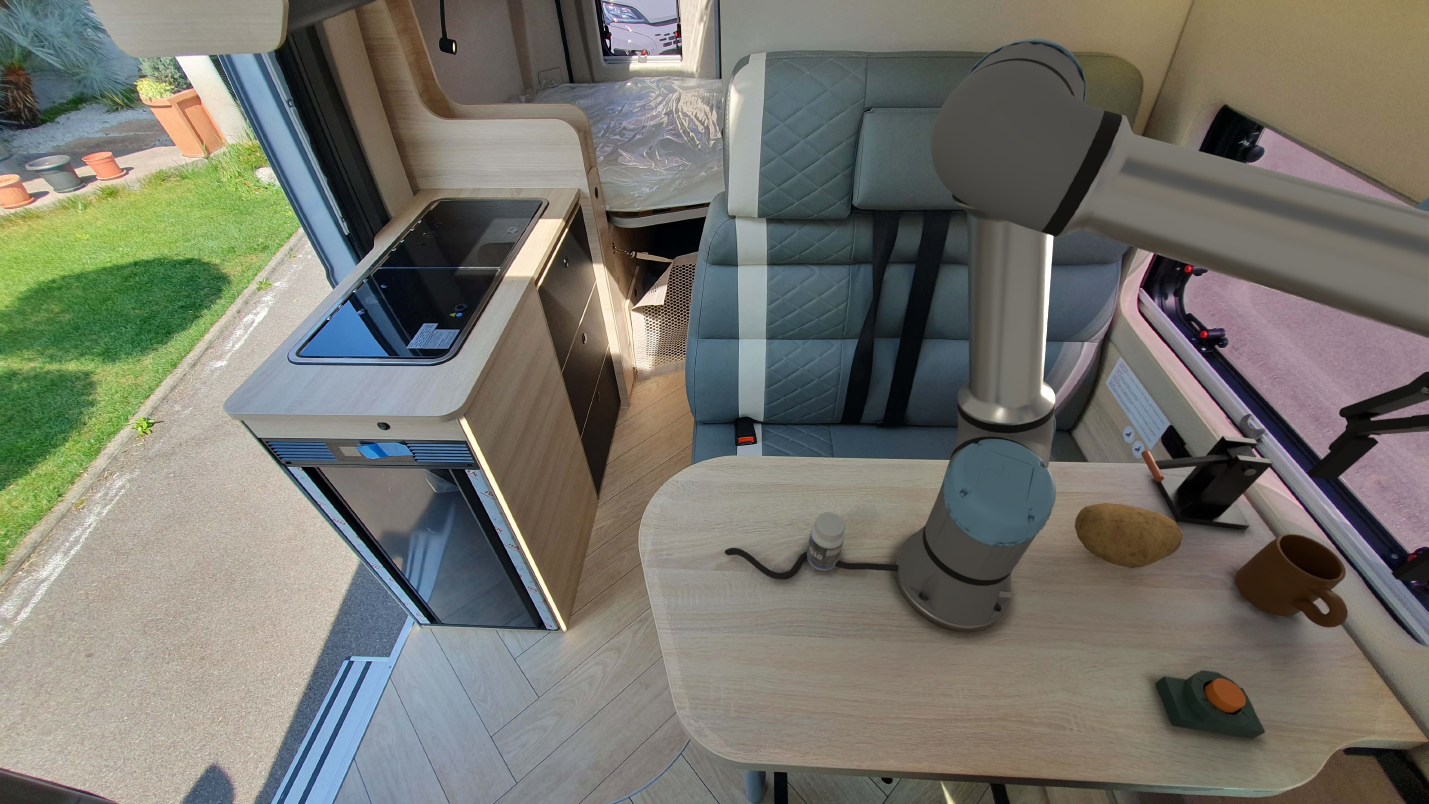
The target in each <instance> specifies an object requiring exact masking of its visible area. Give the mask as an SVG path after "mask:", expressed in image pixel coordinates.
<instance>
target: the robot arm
mask: <svg viewBox="0 0 1429 804" xmlns="http://www.w3.org/2000/svg"><path fill="white" fill-rule="evenodd" d="M1086 99H1087V80H1086V78H1085V71H1084V70H1083V68H1082V65H1081V64H1080V62H1079V60H1078V59H1077V58H1076V57H1075V55H1074V54H1073V53H1072V52H1071V51H1070V50H1069V49H1067V48H1066V47H1064V46H1063V45H1062V44H1059V43H1058V42H1055V41H1052V40H1049V39H1043V38H1025V39H1020V40H1015V41H1013V42H1010V43H1007V44H1005V45H1002V46H999V47H997V48H995V49H994V50H992V51H991V52H988V53H987V54H986V55H984V56H983V57H982V58H980V59H979V61H977V62H975V64H974V65H972V67H971V68H970V69H969V71H968V72H967V74H966V75H965V77H964V79H962V81H961V82H960V83H959V84H958V85H957V86H956V88H954V89H953V91H951V93H950V94H949V95H948V97H946V100H945V101H944V102H943V104H942V106H941V108H940V110H939V111H938V114H937V116H936V118H935V121H934V124H933V128H932V133H931V137H930V138H931V139H930V141H931V142H930V143H931V144H930V145H931V146H930V153H931V158H932V164H933V167H934V170H935V173H936V175H937V176H938V178H939V180H940V181H941V183H942V184H943V186H944V187H945V188H946V189H947V190H948V191H949V192H950V193H951V199H952V201H953V203H954V204H956V205H957V206H959V208H960V209H962V210H964V211H965V212H966V217H967V218H966V219H967V220H966V221H967V222H966V223H967V226H966V228H967V229H966V230H967V306H968V307H967V309H968V311H967V313H968V318H967V320H968V322H967V323H968V380H967V381H966V382H964V383H963V384H962V385H961V387H960V388H959V390H958V392H957V394H956V395H957V397H956V400H957V406H956V407H957V409H956V411H957V412H956V413H957V432H956V439H955V443H954V446H953V449H952V452H951V454H950V458H949V461H948V464H947V467H946V470H945V473H944V477H943V479H942V483H941V486H940V489H939V491H938V493H937V496H936V499H935V501H934V504H933V506H932V508H931V510H930V513H929V515H928V517H927V521H926V522H925V525H924V526H922V527H921V528H920V529H919V530H918V531H916V532H914V533H913V534H911V535H910V536H909V537H907V538H906V540H905V541H904V542H903V543H902V545H901V546H900V548H899V550H898V553H897V556H896V558H895V562H894V564H892V563H891V564H890V563H878V562H877V563H876V562H846V561H841V560H838V561H837V563H836V564H835V567H836V568H839V569H843V570H851V571H852V570H853V571H858V570H860V571H862V570H866V571H867V570H868V571H871V570H872V571H884V572H894V576H895V577H894V578H895V582H896V585H897V587H898V590H899V592H900V593H901V595H902V597H903V598H904V599H905V601H906V602H907V603H908V604H909V606H910V607H911V608H912V609H913V610H914V611H915V612H917V614H918V615H920V616H922V617H923V618H924V619H926V620H927V621H929V622H931V623H932V624H934V625H936V626H938V627H941V628H944V629H946V630H949V631H953V632H954V631H955V632H962V633H974V632H979V631H982V630H985V629H988V628H990V627H992V626H993V625H994V624H995V623H997V621H999V620H1000V618H1001V617H1002V616H1003V614H1004V613H1005V611H1006V610H1007V607H1008V605H1009V603H1010V599H1014V597H1015V596H1016V595H1017V592H1015V591H1012V572H1013V571H1014V569H1015V567H1016V566H1017V564H1018V563H1019V562H1020V560H1021V559H1022V558H1023V556H1024V554H1025V553H1026V552H1027V550H1028V549H1029V547H1030V545H1031V544H1032V543H1033V541H1034V539H1035V538H1036V536H1037V535H1038V534H1039V533H1040V531H1042V530H1043V529H1044V527H1045V526H1046V524H1047V522H1048V521H1049V520H1050V516H1052V515H1051V514H1052V512H1053V508H1054V505H1055V503H1056V499H1057V488H1056V487H1057V486H1056V482H1055V479H1054V476H1053V474H1052V472H1051V470H1050V469H1049V465H1050V457H1051V453H1052V452H1051V450H1052V444H1053V441H1054V439H1055V438H1054V437H1055V434H1056V429H1057V423H1056V418H1055V408H1056V394H1055V392H1054V390H1053V388H1052V387H1051V386H1050V385H1049V384H1048V383H1047V382H1045V381H1044V374H1045V373H1044V372H1045V359H1046V345H1047V331H1048V320H1049V319H1048V318H1049V305H1050V304H1049V303H1050V291H1051V289H1050V288H1051V276H1052V262H1053V249H1054V237H1056V238H1059V239H1062V238H1064V237H1066V236H1068V235H1072V234H1074V233H1076V232H1084V233H1088V234H1090V235H1094V236H1097V237H1100V238H1104V239H1107V240H1110V241H1113V242H1116V243H1120V244H1122V245H1125V246H1129V247H1132V248H1135V249H1139V250H1142V251H1145V252H1149V253H1152V254H1155V255H1158V256H1161V257H1165V258H1168V259H1170V260H1174V261H1177V262H1181V263H1184V264H1187V265H1190V266H1193V267H1197V268H1200V269H1203V270H1206V271H1209V272H1213V273H1216V274H1220V275H1223V276H1225V277H1229V278H1232V279H1236V280H1239V281H1241V282H1245V283H1249V284H1251V285H1255V286H1259V287H1261V288H1264V289H1267V290H1272V291H1275V292H1277V293H1281V294H1284V295H1286V296H1291V297H1293V298H1297V299H1301V300H1303V301H1306V302H1310V303H1313V304H1316V305H1318V306H1319V305H1320V306H1323V307H1326V308H1329V309H1331V310H1336V311H1339V312H1342V313H1346V314H1349V315H1352V316H1355V317H1358V318H1361V319H1364V320H1368V321H1371V322H1374V323H1377V324H1380V325H1385V326H1387V327H1389V328H1390V327H1391V328H1394V329H1397V330H1400V331H1403V332H1407V333H1411V334H1413V335H1416V336H1419V337H1423V338H1426V339H1429V196H1428V197H1426V198H1425V199H1424V200H1422V201H1421V202H1420V203H1419V204H1418V205H1416V206H1415V207H1413V206H1409V205H1405V204H1401V203H1397V202H1394V201H1390V200H1386V199H1382V198H1378V197H1376V196H1375V197H1374V196H1371V195H1367V194H1363V193H1360V192H1356V191H1353V190H1348V189H1344V188H1340V187H1336V186H1333V185H1329V184H1325V183H1322V182H1317V181H1314V180H1310V179H1307V178H1303V177H1298V176H1295V175H1291V174H1287V173H1283V172H1279V171H1276V170H1272V169H1269V168H1264V167H1261V166H1257V165H1253V164H1250V163H1245V162H1242V161H1237V160H1234V159H1231V158H1226V157H1222V156H1218V155H1215V154H1211V153H1207V152H1203V151H1199V150H1196V149H1192V148H1188V147H1185V146H1180V145H1177V144H1173V143H1169V142H1165V141H1163V140H1158V139H1154V138H1150V137H1146V136H1142V135H1139V134H1135V133H1134V132H1133V130H1132V128H1131V125H1130V122H1129V120H1128V117H1127V115H1124V114H1120V113H1116V112H1113V111H1108V110H1104V109H1101V108H1099V107H1095V106H1093V105H1090V104H1088V103H1086ZM1427 401H1429V371H1424V372H1422V373H1421V374H1420V375H1418V376H1417V377H1416V378H1414V379H1413V380H1412V381H1411V382H1408V383H1407V384H1404V385H1402V386H1399V387H1397V388H1393V389H1391V390H1387V391H1385V392H1382V393H1380V394H1377V395H1374V396H1371V397H1369V398H1365V399H1363V400H1360V401H1358V402H1357V401H1356V402H1355V403H1351V404H1349V405H1346V406H1344V407H1341V408H1340V409H1339V411H1338V415H1339V416H1340V417H1341V418H1343V419H1345V421H1346V423H1347V424H1346V425H1345V430H1344V431H1343V432H1342V433H1341V434H1339V436H1337V437H1336V438H1335V439H1334V440H1333V441H1332V442H1331V443H1330V444H1329V446H1328V447H1327V449H1328V450H1329V452H1328V453H1327V454H1325V456H1324V457H1323V458H1321V459H1320V460H1319V461H1318V462H1317V463H1316V464H1315V465H1314V466H1312V468H1311V469H1309V470H1308V471H1307V472H1306V474H1307V475H1308V476H1309V477H1310V479H1311V478H1312V479H1321V480H1331V481H1336V480H1337V479H1338V478H1339V477H1341V476H1342V475H1343V474H1344V473H1345V472H1346V471H1348V470H1349V469H1350V468H1351V467H1352V466H1354V464H1356V463H1357V462H1358V461H1360V460H1361V459H1362V458H1363V457H1364V456H1365V455H1366V454H1368V453H1369V452H1370V451H1371V450H1373V448H1374V447H1376V446H1377V445H1378V444H1379V442H1380V441H1378V440H1377V439H1376V438H1375V437H1373V436H1379V437H1381V436H1382V435H1396V434H1406V433H1407V434H1408V433H1409V434H1410V433H1422V432H1429V413H1426V414H1425V413H1423V414H1413V415H1411V416H1405V417H1403V416H1402V417H1392V418H1381V419H1375V418H1378V417H1381V416H1384V415H1386V414H1391V413H1393V412H1396V411H1399V410H1402V409H1405V408H1409V407H1412V406H1415V405H1417V404H1420V403H1424V402H1427ZM1371 436H1372V437H1371ZM724 554H725V555H727V556H732V555H734V556H735V555H736V556H738V557H741V558H742V559H745V560H746V561H747V562H748V563H749V564H751V565H752V566H753V567H754V568H755V569H756V570H758V571H759V572H760V573H762V574H764V575H765V576H767V577H769V578H771V579H775V580H789V579H790V578H793V577H794V576H795V575H796V574H797V573H798V572H799V571H800V569H801V567H802V565H803V564H804V563H805V561H806V560H807V550H805V551H803V552H802V553H801V554H800V555H799V556H798V558H797V559H796V561H795V562H794V564H793V566H792V567H791V568H790V569H789V570H788V571H785V572H777V571H774V570H772V569H769V568H768V567H766V566H765V565H763V564H762V563H761V562H760V561H759V560H758V559H757V558H755V557H754V556H753V555H752V554H750V553H749V552H747V551H746V550H744V549H742V548H738V547H729V548H727V549H725V550H724ZM1390 574H1391V575H1392V577H1393V578H1394V579H1395V580H1398V581H1406V582H1407V581H1408V582H1416V583H1422V584H1423V583H1424V584H1425V583H1427V582H1429V547H1427V548H1426V549H1425V550H1423V551H1421V552H1420V553H1419V554H1417V555H1416V556H1414V557H1412V558H1411V559H1410V560H1408V561H1407V562H1405V563H1403V564H1402V565H1401V566H1399V567H1397V568H1396V569H1394V570H1393V571H1392V572H1390Z"/></svg>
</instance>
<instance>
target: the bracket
mask: <svg viewBox="0 0 1429 804" xmlns="http://www.w3.org/2000/svg"><path fill="white" fill-rule="evenodd" d="M1257 445H1258V442H1257V440H1255V438H1248V437H1239V436H1229V435H1222V436H1221V437H1220V438H1219V439H1218V441H1217V442H1216V443H1215V444H1214V445H1213V447H1212V448H1211V449H1210V450H1209V451H1208V452H1207V454H1206V455H1205V456H1211V455H1221V454H1225V451H1226V448H1232V447H1242V446H1250V448H1251V449H1252V450H1254V448H1256V446H1257ZM1272 465H1273V462H1272V460H1271V459H1270V458H1264V457H1258V456H1257V457H1248V456H1240V455H1236V456H1235V457H1234V458H1233V459H1232V461H1231V462H1230V463H1229V464H1228V465H1227V464H1217V465H1206V466H1195V467H1193V470H1192V471H1191V472H1190V473H1189V474H1188V475H1187V476H1186V477H1185V476H1177V475H1169V474H1162V475H1163V476H1164V480H1163V481H1159V482H1158V481H1155V479H1154V477H1152V478H1153V481H1154V484H1155V486H1156V487H1157V488H1158V490H1159V492H1160V495H1161V496H1162V498H1163V500H1164V503H1166V505H1167V508H1168V509H1169V511H1170V513H1171V515H1172V517H1173V520H1174V521H1175V523H1181V524H1183V523H1184V524H1191V525H1199V526H1208V527H1214V528H1223V529H1229V530H1230V529H1231V530H1239V531H1246V530H1247V529H1248V528H1250V524H1249V522H1248V521H1247V520H1246V518H1245V516H1244V515H1243V513H1242V512H1241V510H1240V508H1239V507H1238V506H1237V504H1236V501H1238V499H1239V498H1240V497H1241V496H1242V495H1244V493H1245V492H1247V490H1248V489H1249V488H1250V487H1251V486H1252V485H1253V484H1254V483H1255V482H1256V481H1257V480H1258V479H1259V478H1260V477H1261V476H1262V475H1264V473H1265V472H1266V471H1267V470H1268V469H1269V468H1270V467H1272Z"/></svg>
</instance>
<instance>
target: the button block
mask: <svg viewBox="0 0 1429 804" xmlns="http://www.w3.org/2000/svg"><path fill="white" fill-rule="evenodd" d="M1216 679H1226V680H1228V681H1230V682H1232V683H1234V684H1235V685H1236V686H1237V687H1239V689H1240V690H1241V691H1242V692H1243V694H1244V696H1245V699H1246V703H1245V705H1244V706H1243V707H1241V708H1240V709H1238V710H1236V711H1235V712H1233V713H1226V712H1223V711H1221V710H1219V709H1217V708H1216V707H1214V706H1213V705H1212V704H1211V703H1210V702H1209V700H1208V699H1207V697H1206V695H1205V687H1206V686H1207V685H1208V684H1210V683H1211V682H1213V681H1214V680H1216ZM1154 684H1155V687H1156V690H1157V692H1158V695H1159V697H1160V699H1161V702H1162V705H1163V707H1164V710H1165V712H1166V715H1167V717H1168V720H1169V722H1170V724H1171V726H1172V727H1176V728H1183V729H1189V730H1196V731H1202V732H1208V733H1213V734H1221V735H1227V736H1233V737H1240V738H1245V739H1252V740H1254V739H1256V738H1257V737H1260V736H1262V735H1263V734H1265V733H1266V731H1265V729H1264V727H1263V725H1262V722H1261V720H1260V719H1259V717H1258V714H1257V712H1256V711H1255V708H1254V706H1253V703H1252V701H1251V700H1250V698H1249V696H1248V695H1247V693H1246V691H1245V689H1244V688H1243V687H1240V686H1239V685H1238V684H1237V683H1236V682H1235V681H1234V680H1232V679H1231V678H1228V676H1225V675H1223V674H1221V673H1219V672H1217V671H1211V670H1205V669H1202V670H1199V671H1198V672H1196V673H1193V674H1192V675H1190V676H1189V677H1188V678H1187V679H1186V678H1179V677H1173V676H1166V675H1164V676H1162V677H1161V678H1159V680H1157V681H1156V682H1154Z"/></svg>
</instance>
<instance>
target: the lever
mask: <svg viewBox="0 0 1429 804" xmlns="http://www.w3.org/2000/svg"><path fill="white" fill-rule="evenodd" d="M1140 455H1141V457H1142V459H1143V460H1144V462H1145V464H1146V466H1147V468H1148V470H1149V472H1150V474H1151V475H1152V478H1154V479H1155V481H1158V482H1159V481H1163V480H1164V476H1163V475H1164V474H1163V472H1162V471H1161V470H1172V469H1182V468H1183V469H1184V468H1195V467H1196V466H1206V465H1217V464H1227V465H1228V464H1229V463H1230V462H1231V461H1232V459H1233V458H1234V457H1235V456H1236V455H1240V456H1248V457H1257V458H1258V456H1257V455H1256V453H1255V451H1254V449H1251V448H1250V446H1242V447H1232V448H1226V451H1225V454H1221V455H1211V456H1206V455H1201V456H1191V457H1182V458H1181V457H1180V458H1170V459H1159V460H1155V458H1154V457H1153V455H1152V452H1151V451H1150V450H1143V451H1141V453H1140ZM1154 479H1153V480H1154ZM1155 481H1154V482H1155Z"/></svg>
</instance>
